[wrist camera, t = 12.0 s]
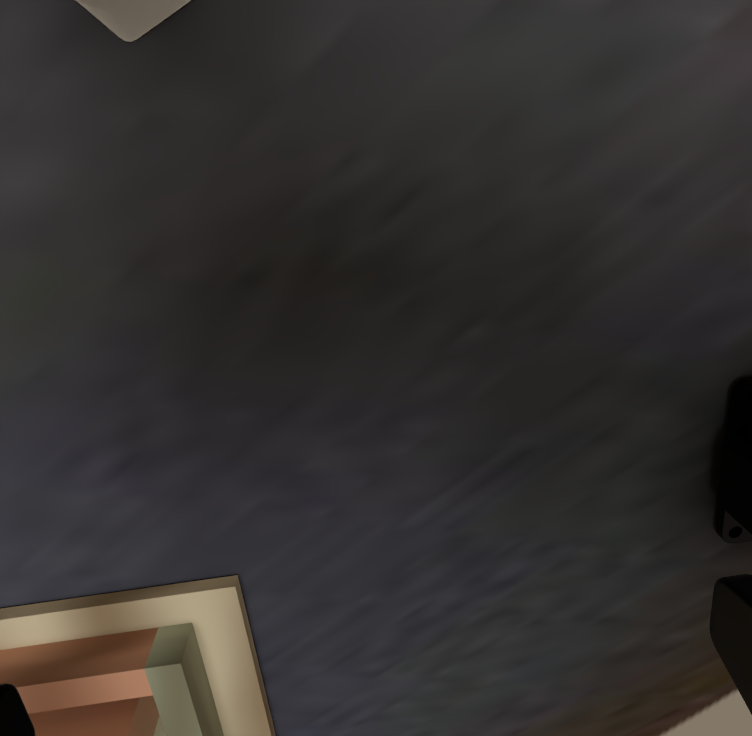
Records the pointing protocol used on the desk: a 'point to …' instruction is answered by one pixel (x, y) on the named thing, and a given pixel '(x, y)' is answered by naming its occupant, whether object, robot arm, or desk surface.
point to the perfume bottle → (131, 14)
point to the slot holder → (143, 656)
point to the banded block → (102, 719)
